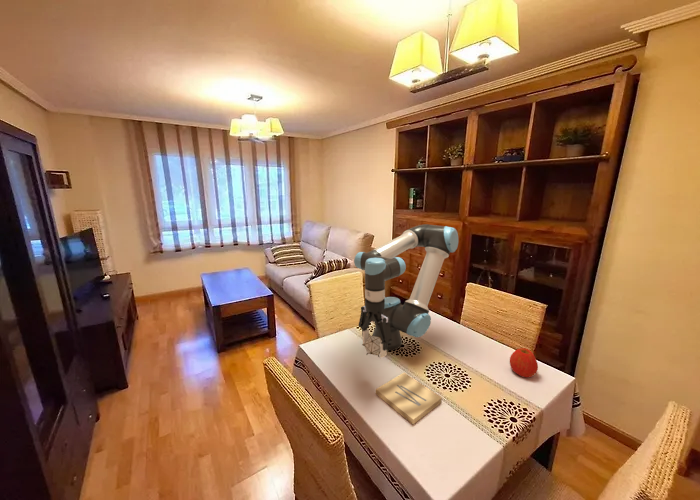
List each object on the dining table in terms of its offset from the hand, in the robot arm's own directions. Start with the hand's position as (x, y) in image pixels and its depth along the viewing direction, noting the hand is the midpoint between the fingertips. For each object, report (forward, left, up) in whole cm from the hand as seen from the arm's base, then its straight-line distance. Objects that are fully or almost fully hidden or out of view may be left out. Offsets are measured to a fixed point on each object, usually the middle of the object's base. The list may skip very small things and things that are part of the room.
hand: (374, 350), depth 113 cm
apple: (+36, +53, -13) cm, 65 cm away
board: (+16, +3, -13) cm, 21 cm away
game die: (0, 0, -2) cm, 2 cm away
